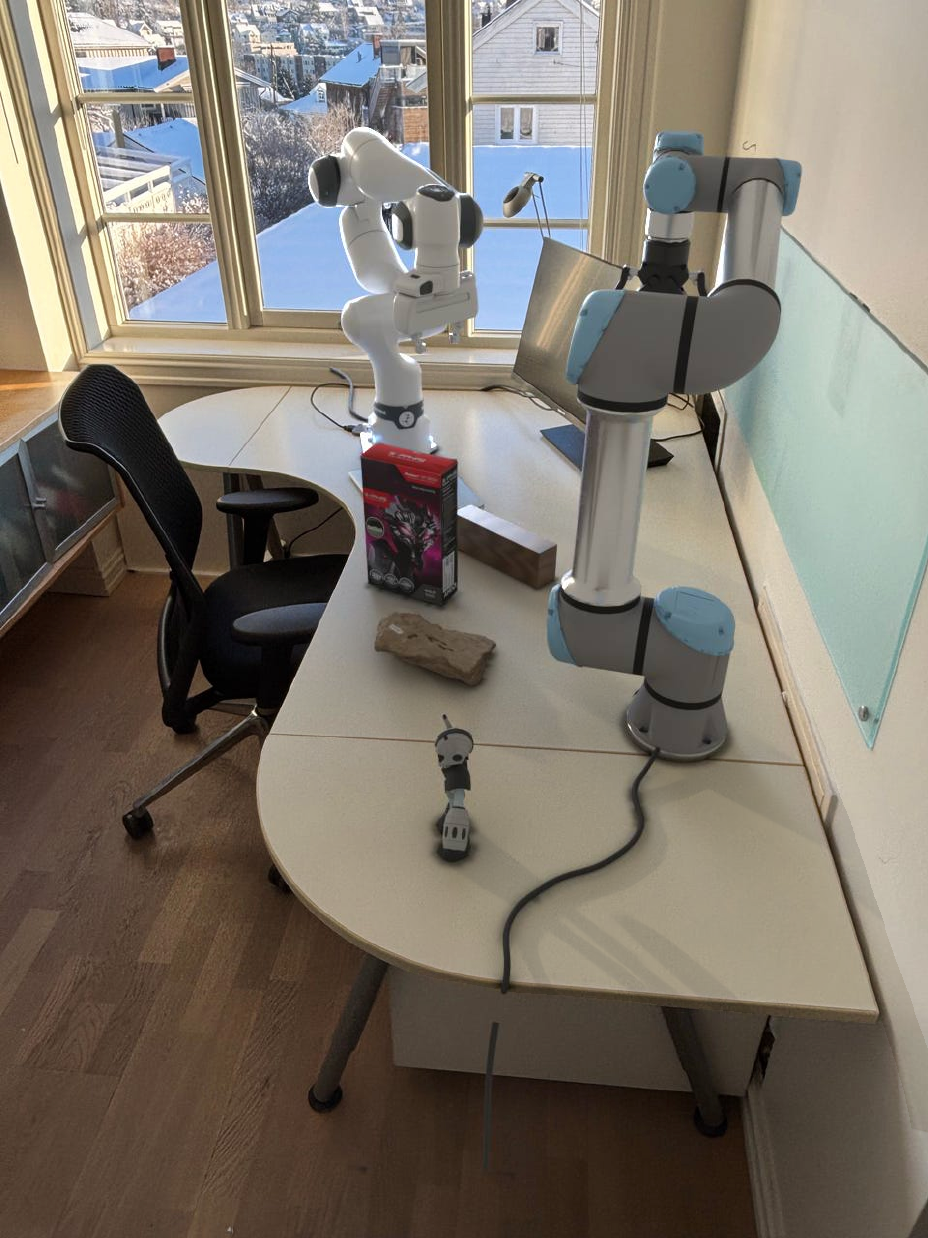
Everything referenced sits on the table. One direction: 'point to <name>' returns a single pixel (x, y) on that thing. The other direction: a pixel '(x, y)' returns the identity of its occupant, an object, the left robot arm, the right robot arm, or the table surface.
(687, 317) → the right robot arm
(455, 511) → the graphics card box
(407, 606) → the table surface
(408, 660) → the stone
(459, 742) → the robot
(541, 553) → the bar
